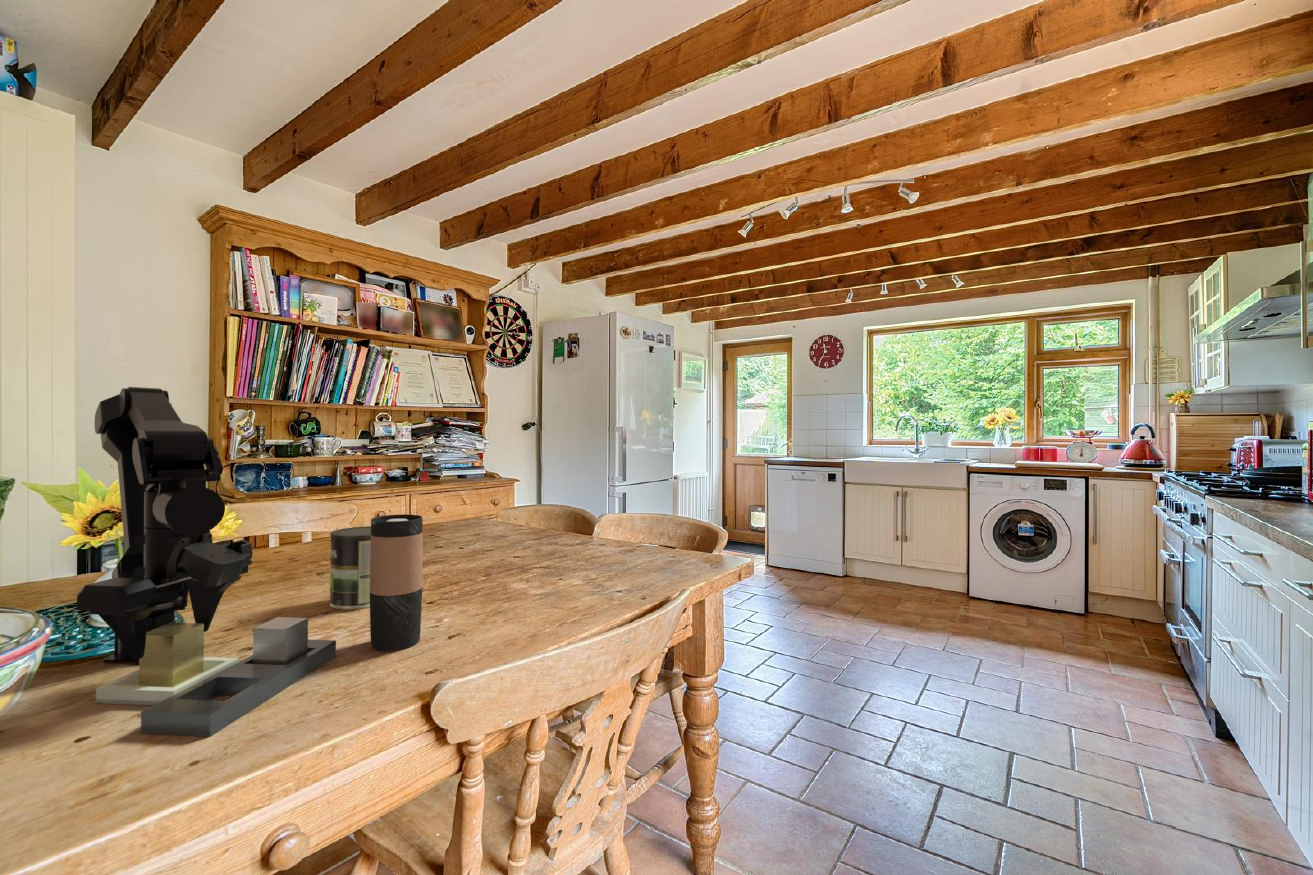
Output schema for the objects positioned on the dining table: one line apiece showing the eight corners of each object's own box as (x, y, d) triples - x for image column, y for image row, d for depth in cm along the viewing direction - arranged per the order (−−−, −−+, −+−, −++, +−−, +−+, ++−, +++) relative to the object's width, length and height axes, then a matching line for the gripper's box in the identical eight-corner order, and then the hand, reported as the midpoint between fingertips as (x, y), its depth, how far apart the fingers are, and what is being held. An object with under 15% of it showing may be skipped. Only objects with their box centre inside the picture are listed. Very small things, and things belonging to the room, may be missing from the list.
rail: (140, 733, 61) (141, 711, 61) (284, 654, 83) (284, 638, 83) (210, 736, 61) (210, 714, 61) (335, 656, 83) (335, 640, 83)
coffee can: (326, 612, 103) (327, 536, 103) (332, 597, 112) (333, 527, 112) (388, 606, 107) (389, 533, 107) (389, 592, 116) (389, 525, 116)
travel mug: (429, 634, 93) (430, 514, 92) (410, 652, 85) (411, 522, 85) (382, 634, 92) (384, 514, 92) (359, 652, 85) (360, 521, 85)
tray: (95, 703, 68) (95, 688, 68) (171, 668, 78) (171, 655, 78) (173, 706, 68) (173, 691, 68) (239, 671, 78) (239, 658, 78)
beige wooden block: (172, 690, 70) (173, 635, 70) (139, 689, 71) (139, 634, 71) (203, 675, 75) (203, 623, 75) (171, 674, 75) (171, 622, 75)
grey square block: (252, 679, 75) (253, 628, 75) (277, 665, 80) (277, 617, 80) (284, 681, 75) (285, 629, 75) (307, 667, 79) (307, 618, 79)
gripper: (165, 540, 63) (164, 677, 63) (284, 516, 82) (283, 622, 82) (72, 538, 63) (71, 674, 64) (211, 514, 82) (210, 619, 82)
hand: (172, 644), depth 73 cm, fingers open, 9 cm apart
